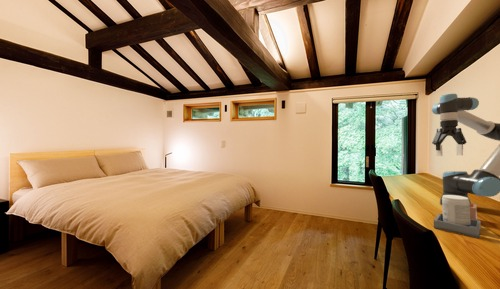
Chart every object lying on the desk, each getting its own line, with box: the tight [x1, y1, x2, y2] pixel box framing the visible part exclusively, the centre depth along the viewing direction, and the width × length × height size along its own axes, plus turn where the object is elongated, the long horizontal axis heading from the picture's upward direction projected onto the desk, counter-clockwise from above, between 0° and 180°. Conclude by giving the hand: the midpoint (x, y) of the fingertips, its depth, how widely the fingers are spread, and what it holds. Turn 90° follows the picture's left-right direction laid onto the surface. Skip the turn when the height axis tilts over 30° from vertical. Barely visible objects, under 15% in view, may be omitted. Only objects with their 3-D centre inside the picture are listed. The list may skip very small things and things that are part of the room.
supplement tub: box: [441, 194, 471, 227], centre depth 100 cm, size 10×10×15 cm
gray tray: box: [433, 212, 482, 239], centre depth 100 cm, size 15×15×4 cm
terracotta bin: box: [469, 202, 478, 220], centre depth 109 cm, size 10×10×9 cm
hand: (449, 155), depth 121 cm, fingers open, 13 cm apart
